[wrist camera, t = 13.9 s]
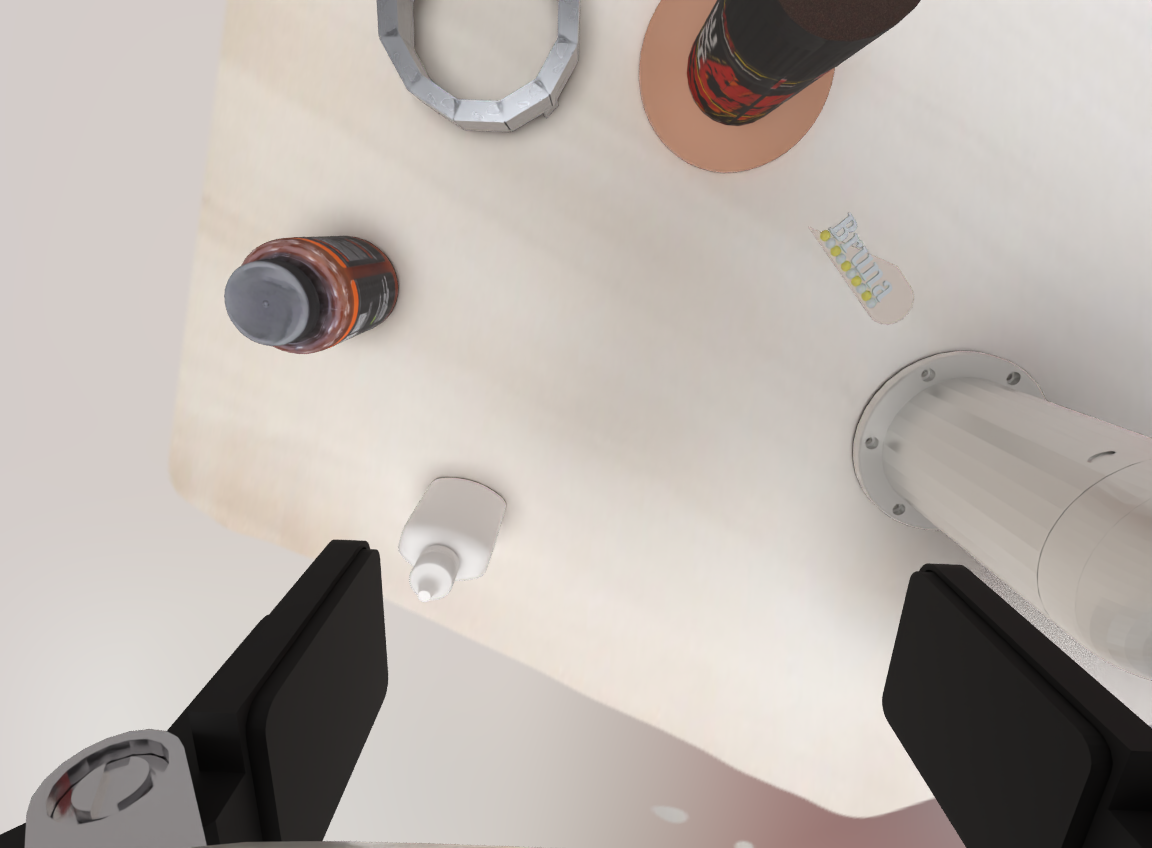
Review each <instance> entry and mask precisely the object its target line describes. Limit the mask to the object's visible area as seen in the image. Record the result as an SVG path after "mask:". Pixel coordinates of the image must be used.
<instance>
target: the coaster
mask: <svg viewBox="0 0 1152 848" xmlns="http://www.w3.org/2000/svg"><path fill="white" fill-rule="evenodd" d="M716 1H717V0H661V2H660V3H659V5H658V6H657V8H656V10H655V12H654V14H653V16H652V18H651V20H650V23H649V26H648V29H647V31H646V34H645V37H644V41H643V46H642V50H641V56H640V64H639V83H640V92H641V97H642V102H643V106H644V109H645V112H646V114H647V117H648V120H649V122H650V123H651V125H652V127H653V129H654V131H655V132H656V134H657V135H658V137H659V138H660V140H661V141H662V142H663V143H664V144H665V145H666V146H667V147H668V148H669V150H670V151H672V152H673V153H674V154H675V155H677V156H678V157H679V158H681V159H682V160H684V161H686V162H687V163H689V164H691V165H694V166H696V167H698V168H701V169H705V170H709V171H714V172H723V173H727V172H740V171H745V170H749V169H753V168H756V167H759V166H761V165H764V164H766V163H768V162H770V161H772V160H774V159H776V158H778V157H779V156H781V155H782V154H784V153H786V152H787V151H788V150H789V149H791V148H792V147H793V146H794V145H795V144H797V142H798V141H799V140H800V139H801V138H802V137H803V136H804V135H805V134H806V133H807V132H808V130H809V129H810V128H811V126H812V125H813V124H814V122H815V121H816V119H817V117H818V116H819V114H820V112H821V110H822V108H823V106H824V104H825V102H826V99H827V97H828V94H829V91H830V88H831V85H832V80H833V75H834V70H835V68H833V69H832V70H831V71H829V72H828V73H826V74H825V75H823V76H822V77H821V78H819V79H818V80H816V81H815V82H813V83H812V84H810V85H809V86H808V87H806V88H805V89H803V90H802V91H800V92H799V93H798V94H796V95H795V96H793V97H792V98H790V99H789V100H788V101H786V102H785V103H783V104H782V105H780V106H779V107H778V108H776V109H775V110H773V111H772V112H770V113H769V114H767V115H766V116H765V117H763V118H761V119H759V120H757V121H755V122H753V123H750V124H746V125H741V126H731V125H724V124H721V123H719V122H716V121H713V120H712V119H711V118H709V117H708V116H707V115H705V114H704V113H703V112H702V111H701V110H700V108H699V107H698V106H697V104H696V103H695V102H694V100H693V97H692V95H691V92H690V90H689V86H688V78H687V66H688V57H689V54H690V51H691V48H692V45H693V42H694V41H695V39H696V37H697V35H698V33H699V32H700V30H701V28H702V26H703V25H704V23H705V21H706V19H707V17H708V16H709V14H710V12H711V10H712V8H713V7H714V5H715V3H716Z"/></svg>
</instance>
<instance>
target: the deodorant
mask: <svg viewBox="0 0 1152 848" xmlns="http://www.w3.org/2000/svg"><path fill="white" fill-rule="evenodd" d="M920 1H921V0H717V1H716V3H715V5H714V7H713V8H712V10H711V12H710V14H709V16H708V17H707V19H706V21H705V23H704V25H703V26H702V28H701V30H700V32H699V33H698V35H697V37H696V39H695V41H694V42H693V45H692V48H691V51H690V54H689V57H688V66H687V78H688V86H689V90H690V92H691V95H692V97H693V100H694V102H695V103H696V104H697V106H698V107H699V108H700V110H701V111H702V112H703V113H704V114H705V115H707V116H708V117H709V118H711V119H712V120H713V121H716V122H719V123H721V124H724V125H731V126H741V125H746V124H750V123H753V122H755V121H757V120H759V119H761V118H763V117H765V116H766V115H767V114H769V113H770V112H772V111H773V110H775V109H776V108H778V107H779V106H780V105H782V104H783V103H785V102H786V101H788V100H789V99H790V98H792V97H793V96H795V95H796V94H798V93H799V92H800V91H802V90H803V89H805V88H806V87H808V86H809V85H810V84H812V83H813V82H815V81H816V80H818V79H819V78H821V77H822V76H823V75H825V74H826V73H828V72H829V71H831V70H832V69H833V68H835V67H836V66H838V65H839V64H841V63H842V62H843V61H845V60H846V59H848V58H849V57H851V56H852V55H853V54H855V53H856V52H858V51H859V50H861V49H862V48H863V47H865V46H866V45H868V44H869V43H871V42H872V41H874V40H875V39H876V38H878V37H879V36H881V35H882V34H884V33H885V32H886V31H888V30H889V29H891V28H892V27H894V26H895V25H896V24H898V23H899V22H900V21H901V20H902V19H903V18H904V17H905V16H906V15H908V14H909V13H910V12H911V11H912V10H913V9H914V8H915V7H916V6H917V5H918V3H919V2H920Z"/></svg>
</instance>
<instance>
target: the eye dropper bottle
mask: <svg viewBox="0 0 1152 848" xmlns="http://www.w3.org/2000/svg"><path fill="white" fill-rule="evenodd" d="M505 509H506V503H505V501H504V500H503V498H502V497H501V496H499V495H498V494H497V493H495V492H494V491H493V490H491V489H489V488H487V487H486V486H484V485H481V484H479V483H477V482H474V481H470V480H466V479H460V478H439V479H436V480H434V481H432V483H431V484H430V486H429V487H428V489H427V490H426V492H425V493H424V495H423V497H422V498H421V500H420V501H419V503H418V505H417V506H416V508H415V509H414V511H413V513H412V514H411V516H410V517H409V519H408V521H407V523H406V524H405V526H404V529H403V531H402V534H401V538H400V541H399V546H398V548H399V553H400V554H401V556H402V557H403V558H404V559H405V560H406V561H407V562H408V563H409V564H411V565H412V566H413V569H412V571H411V573H410V577H409V578H410V579H409V580H410V581H409V582H410V586H411V588H412V590H413V591H414V592H415V593H416V594H417V595H418V599H419V600H420V601H422V602H427V601H429V600H437V599H441V598H443V597H445V596H446V595H447V594H448V593H449V592H450V591H451V589H452V586H453V584H454V581H465V580H472V579H477V578H479V577H481V576H483V574H484V573H485V572H486V569H487V567H488V564H489V561H490V558H491V555H492V552H493V549H494V546H495V543H496V539H497V536H498V533H499V529H500V526H501V523H502V519H503V516H504V513H505Z"/></svg>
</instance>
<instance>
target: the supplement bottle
mask: <svg viewBox="0 0 1152 848" xmlns="http://www.w3.org/2000/svg"><path fill="white" fill-rule="evenodd" d="M397 295H398V283H397V278H396V274H395V271H394V269H393V267H392V265H391V263H390V261H389V260H388V258H387V257H386V255H385V254H384V253H383V252H382V251H381V250H380V249H378V248H377V247H376V246H374V245H373V244H371V243H369V242H367V241H365V240H362V239H359V238H356V237H349V236H330V237H293V238H282V239H276V240H272V241H269V242H266V243H264V244H262V245H260V246H259V247H257V248H256V249H254V250H253V251H252V252H251V253H250V254H249V255H248V256H247V257H246V259H245V260H244V262H243V263H242V265H241V267H239V268H238V269H236V270H235V271H234V272H233V273H232V275H231V276H230V278H229V280H228V282H227V285H226V288H225V295H224V297H225V306H226V310H227V313H228V315H229V317H230V319H231V321H232V322H233V324H234V325H235V326H236V328H237V329H238V330H239V331H240V332H241V333H242V334H243V335H244V336H246V337H247V338H249V339H250V340H252V341H254V342H257V343H259V344H263V345H269V346H273V347H275V348H277V349H280V350H282V351H286V352H289V353H296V354H309V353H314V352H318V351H322V350H325V349H327V348H330V347H332V346H335V345H336V344H338V343H341V342H343V341H345V340H348V339H350V338H352V337H354V336H356V335H358V334H361V333H363V332H365V331H367V330H370V329H372V328H374V327H375V326H377V325H378V324H380V323H382V322H383V321H384V320H385V319H386V318H387V317H388V316H389V315H390V313H391V312H392V310H393V308H394V306H395V303H396V300H397Z"/></svg>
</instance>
